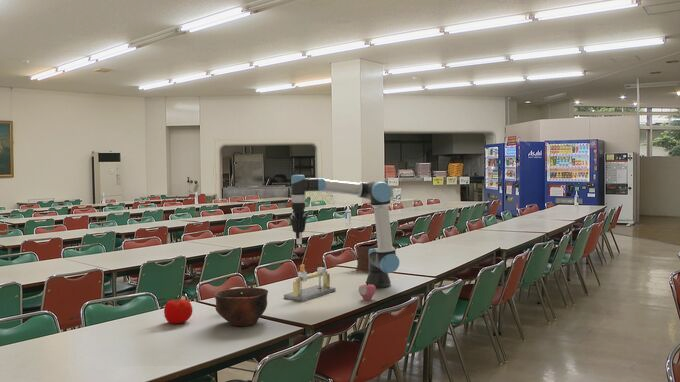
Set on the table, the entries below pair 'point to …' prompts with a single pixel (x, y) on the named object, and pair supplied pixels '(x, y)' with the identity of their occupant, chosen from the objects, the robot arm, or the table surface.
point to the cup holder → (363, 255)
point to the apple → (367, 291)
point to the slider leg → (303, 275)
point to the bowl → (241, 305)
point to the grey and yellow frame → (311, 291)
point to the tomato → (177, 311)
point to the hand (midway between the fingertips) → (299, 244)
